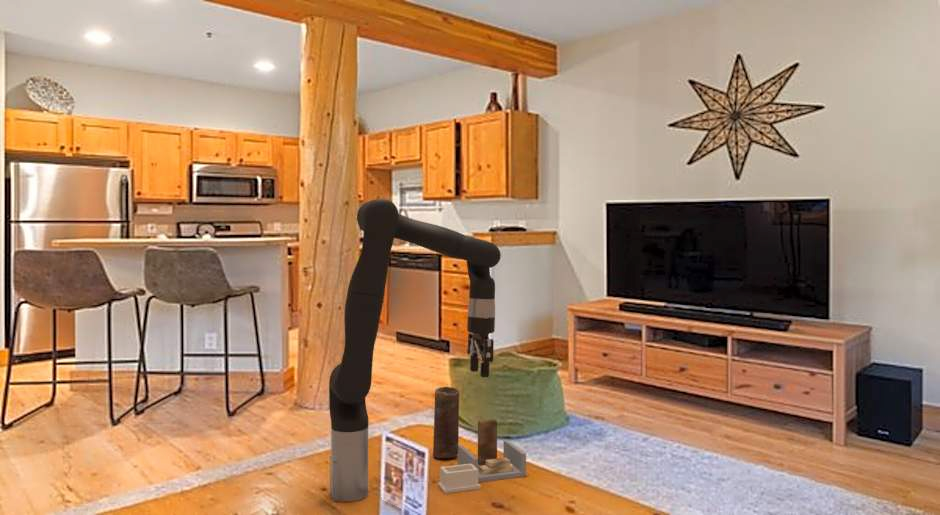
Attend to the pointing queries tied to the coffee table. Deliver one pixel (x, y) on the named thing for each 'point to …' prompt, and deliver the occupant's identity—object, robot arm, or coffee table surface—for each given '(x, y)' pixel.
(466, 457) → the rack
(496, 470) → the block
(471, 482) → the holder
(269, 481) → the coffee table surface
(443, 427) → the brown log
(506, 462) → the offcut short
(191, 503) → the coffee table surface
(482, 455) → the slat
